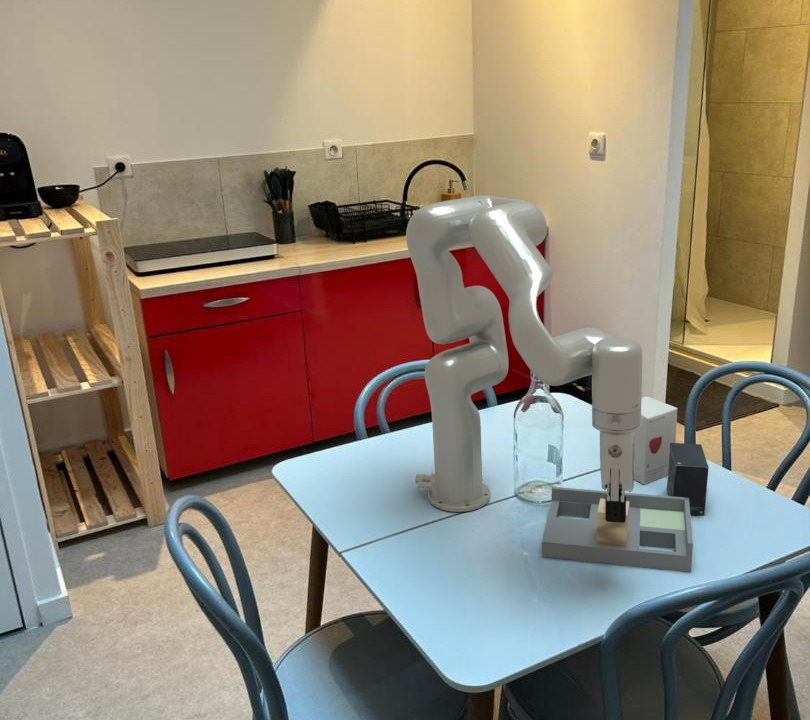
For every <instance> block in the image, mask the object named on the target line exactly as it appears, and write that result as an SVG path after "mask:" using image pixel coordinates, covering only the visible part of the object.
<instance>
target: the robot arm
mask: <svg viewBox="0 0 810 720" xmlns="http://www.w3.org/2000/svg"><path fill="white" fill-rule="evenodd" d="M547 223H548V222H547V219H546V217H545V214H544V213H543V211H542V210H541V209H540V208H539V207H538V206H537V205H535V204H534V203H533V202H530V201H527V200H523V199H518V198H517V199H516V198H509V197H501V196H495V195H486V194H485V195H484V194H483V195H476V196H468V197H467V196H466V197H463V198H455V199H448V200H443V201H439V202H434V203H432V204H428V205H425V206H423V207H421V208H419V209H418V210H416V211H415V212H414V213H413V214H412V215H411V217H410V219H409V221H408V222H407V227H406V234H405V239H406V246H407V251H408V254H409V256H410V259H411V262H412V265H413V269H414V271H415V274H416V280H417V287H418V292H419V293H418V295H419V299H420V306H421V312H422V318H423V319H422V320H423V323H424V328H425V332H426V334H427V336H428V338H429V339H430V340H431V341H432V342H433V343H435V344H437V345H438V344H440V345H446V344H451V343H455V342H459V341H462V340H465V339H469V343H466V344H463V345H459V346H456V347H453V348H450V349H447V350H444V351H441V352H439V353H437V354H436V355H434V356H433V357H431V358H430V360H428V362H427V363H426V366H425V369H424V380H425V385H426V389H427V393H428V397H429V402H430V409H431V419H432V420H431V422H432V425H431V426H432V439H433V441H432V442H433V443H432V444H433V461H434V466H433V467H434V473H431V474H424V473H416V474H415V478H414V480H415V484H417V487H418V489H428V495H427V497H428V501H429V502H430V504H431V505H432V506H433V507H435V508H437V509H439V510H441V511H447V512H454V513H463V512H465V513H466V512H470V511H471V512H472V511H474V510H477V509H480V508H482V507H484V506H485V505H486V504H488V502H489V501H490V499H491V489H490V488H489V486H487V485H486V484H485V483H483V467H482V466H483V463H482V458H483V457H482V456H483V455H482V426H481V415H480V414H481V413H480V412H479V410H478V408H477V406H476V405H475V404H474V402H473V401H472V398H471V397H472V395H473V394H476V393H478V392H480V391H483V390H485V389H488V388H491V387H494V386H496V385H499V384H500V383H501V382H502V381H504V380H505V379H506V376H507V375H508V372H509V354H508V353H509V352H508V347H507V339H506V338H507V337H506V332H505V325H504V317H503V313H502V308H501V305H500V302H499V300H498V299H497V297H496V295H495V294H494V293H493V292H492V291H491V289H489V288H487V287H486V286H485V287H484V286H482V285H472V286H467V287H465V286H464V281H463V272H462V269H461V266H460V264H459V263H458V261H457V259H456V258H455V256H454V255H453V254H452V253H451V252H450V251H449V250H450V249H453V248H456V247H461V246H462V247H463V246H466V245H471V244H472V245H473V247H474V249H476V251H477V253H478V255H480V258H482V260H483V261H484V263H485V265H486V266H487V268H488V269H489V270H490V272H491V273H492V275H493V277H494V278H495V280H496V281H497V282H498V283H499V285H500V286H501V288H502V290H503V291H504V293H505V294H506V296H507V297H508V300H509V306H508V325H509V332H510V336H511V339H512V343H513V345H514V347H515V348H516V351H517V353H518V354H519V355H520V356H521V358H522V360H523V361H524V362H525V365H526V366H527V367H528V368H529V370H530V371H531V372H532V374H533V375H534V376H535V377H536V379H538V380H539V381H540V382H542V383H544V384H545V385H549V386H552V387H558V386H562V385H565V384H568V383H571V382H574V381H576V380H578V379H581V378H584V377H588V376H591V425H592V427H593V428H594V429H595V430H597V431H599V462H600V463H599V464H600V483H601V488H602V490H603V491H607V495H606V499H605V520H606V521H607V522H619V523H624V522H625V521H626V496H625V493H626V492H628V493H632V492H633V491H634V486H635V485H634V483H635V480H634V462H635V432H634V431H637V430H638V429H639V428H640V427H641V402H642V398H643V397H642V396H643V395H642V393H643V392H642V391H643V388H642V385H643V349H642V346H641V344H640V343H639V342H638V341H637V340H635V339H632V338H627V337H621V336H620V337H617V336H614V335H612V334H610V333H607V332H606V331H603V330H602V329H600V328H596V327H588V326H587V327H586V326H585V327H582V328H578V329H575V330H573V331H570V332H569V331H568V332H566V333H562V334H559V335H557V336H552V335H551V334H550V333H549V331H548V329H547V328H546V327H545V325H544V324H543V322H542V320H541V317H540V316H539V311H538V308H537V307H538V305H537V301H538V297H539V295H541V294H542V292H543V291H545V289H547V288H548V286H549V284H550V283H551V281H552V280H553V269H552V268H551V265H549V263H548V262H547V261H546V259H545V257H543V255H542V253H541V251H540V250H539V249H538V248H537V247H538V246H539V245H540V244H541V243H543V241H544V240H545V238H546V236H547V231H548V224H547Z"/></svg>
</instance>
